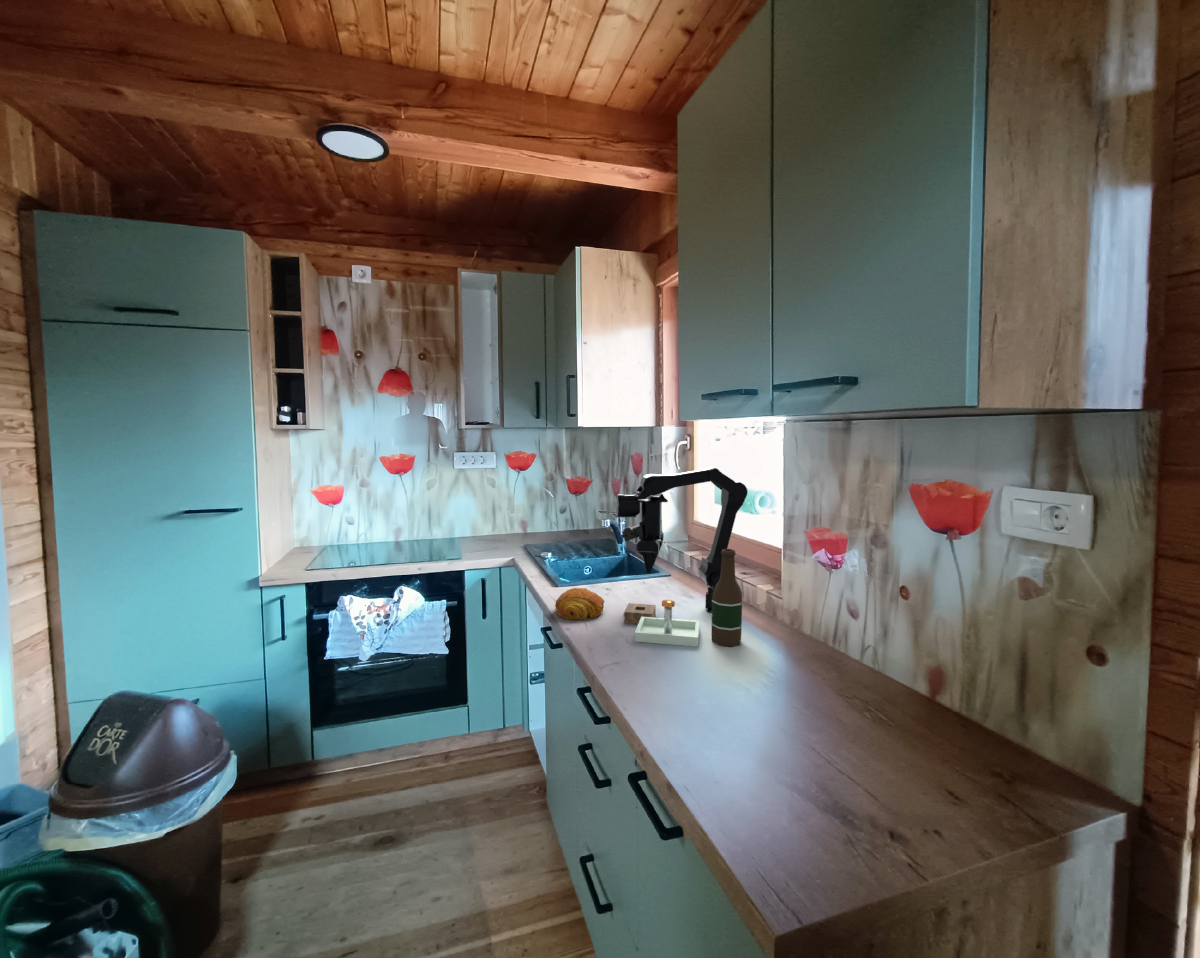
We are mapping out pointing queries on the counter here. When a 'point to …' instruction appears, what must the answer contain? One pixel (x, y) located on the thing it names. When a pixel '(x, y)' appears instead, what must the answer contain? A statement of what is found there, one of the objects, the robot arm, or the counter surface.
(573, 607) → the croissant
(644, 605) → the block
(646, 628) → the tray
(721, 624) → the beer bottle
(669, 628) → the pin
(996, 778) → the counter surface
